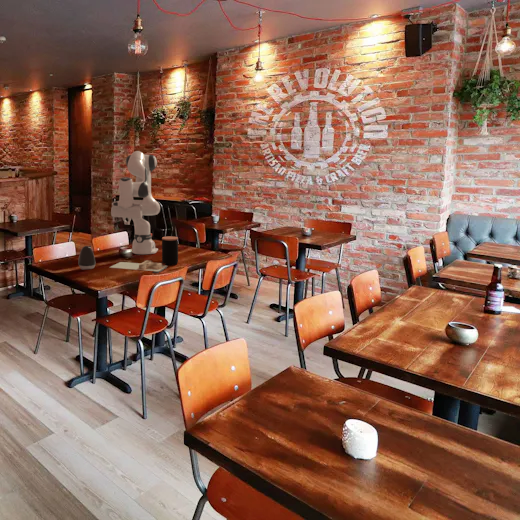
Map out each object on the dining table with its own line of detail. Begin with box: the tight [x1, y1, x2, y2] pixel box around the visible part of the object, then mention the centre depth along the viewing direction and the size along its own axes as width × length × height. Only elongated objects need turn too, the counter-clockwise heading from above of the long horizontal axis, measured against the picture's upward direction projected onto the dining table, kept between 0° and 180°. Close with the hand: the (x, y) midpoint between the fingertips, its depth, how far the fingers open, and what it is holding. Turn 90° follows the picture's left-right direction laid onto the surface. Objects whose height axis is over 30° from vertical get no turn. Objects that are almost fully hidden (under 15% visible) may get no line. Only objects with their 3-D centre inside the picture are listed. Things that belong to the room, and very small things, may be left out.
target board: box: [109, 261, 169, 274], centre depth 299 cm, size 16×33×1 cm, turn 81°
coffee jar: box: [161, 235, 179, 266], centre depth 312 cm, size 11×11×18 cm
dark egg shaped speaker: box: [77, 245, 97, 271], centre depth 289 cm, size 10×10×15 cm
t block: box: [139, 260, 163, 269], centre depth 297 cm, size 12×12×3 cm
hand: (127, 224), depth 301 cm, fingers closed
